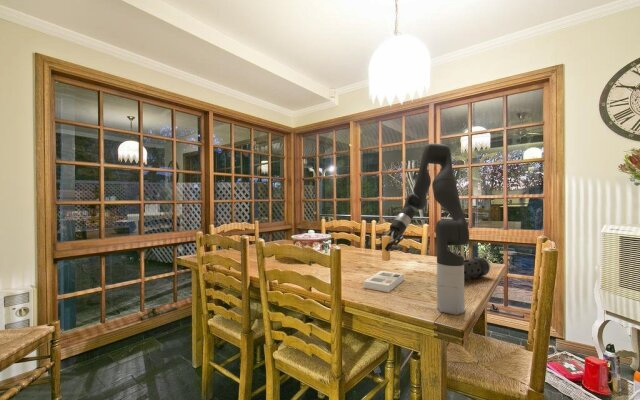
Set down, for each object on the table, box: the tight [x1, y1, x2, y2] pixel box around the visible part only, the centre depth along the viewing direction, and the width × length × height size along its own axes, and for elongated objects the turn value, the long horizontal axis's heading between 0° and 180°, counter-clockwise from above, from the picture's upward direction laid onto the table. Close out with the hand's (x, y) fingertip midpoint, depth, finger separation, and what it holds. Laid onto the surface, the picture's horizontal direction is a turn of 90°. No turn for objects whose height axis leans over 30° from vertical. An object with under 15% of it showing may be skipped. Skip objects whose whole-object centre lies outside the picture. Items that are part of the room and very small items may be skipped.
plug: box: [381, 236, 391, 262], centre depth 142 cm, size 4×4×12 cm
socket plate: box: [363, 270, 405, 293], centre depth 136 cm, size 22×12×3 cm, turn 146°
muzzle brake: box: [464, 256, 491, 280], centre depth 141 cm, size 10×28×10 cm, turn 116°
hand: (383, 249), depth 141 cm, fingers closed on plug, 4 cm apart
